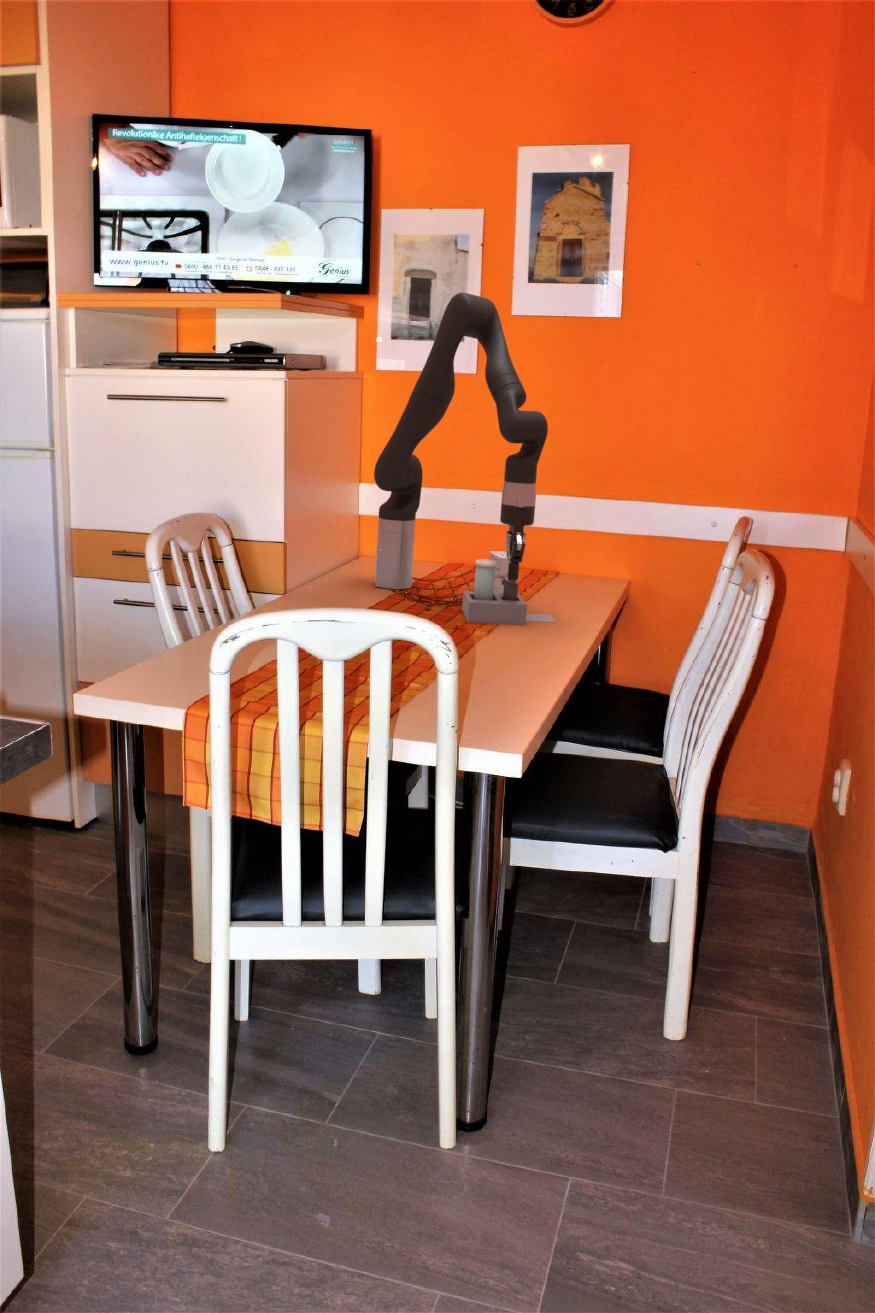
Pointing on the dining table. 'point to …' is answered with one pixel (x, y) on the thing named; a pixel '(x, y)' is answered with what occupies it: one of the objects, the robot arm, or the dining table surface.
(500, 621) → the housing
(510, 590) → the plunger
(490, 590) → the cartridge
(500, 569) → the ink box
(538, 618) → the mat
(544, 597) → the dining table surface
